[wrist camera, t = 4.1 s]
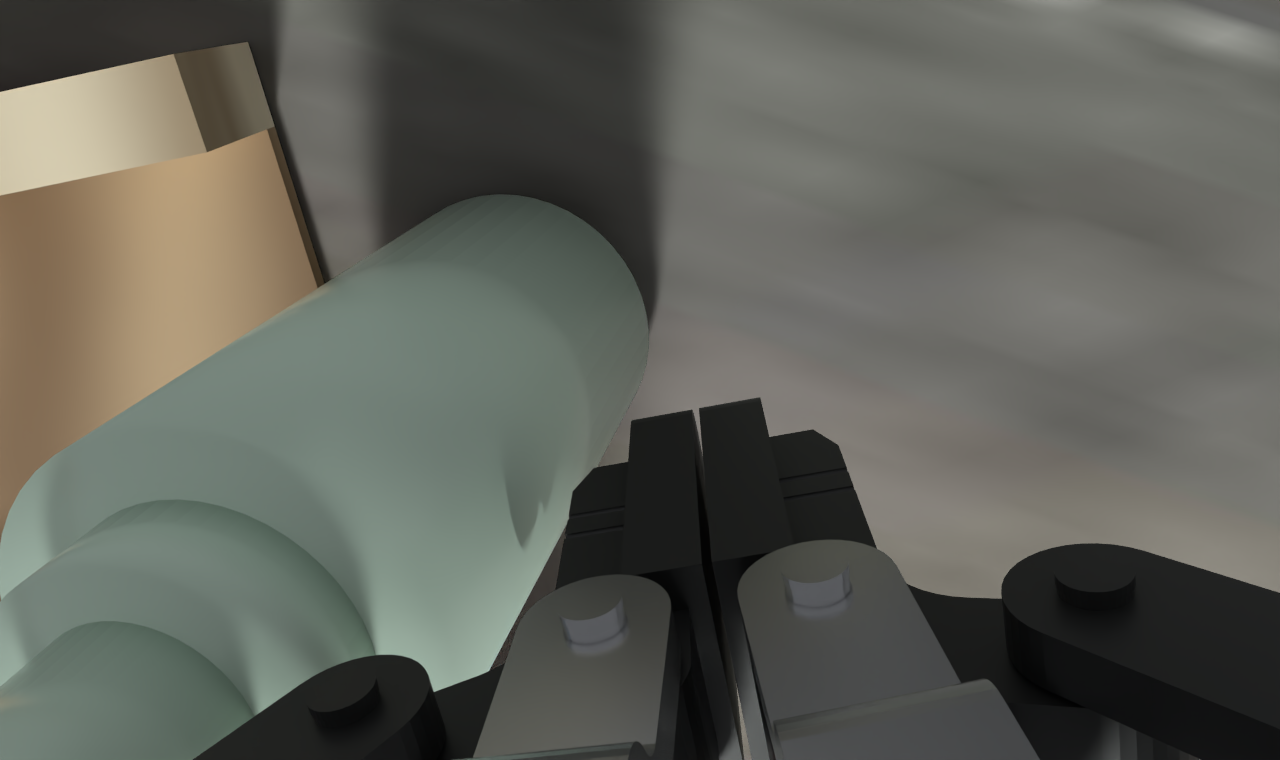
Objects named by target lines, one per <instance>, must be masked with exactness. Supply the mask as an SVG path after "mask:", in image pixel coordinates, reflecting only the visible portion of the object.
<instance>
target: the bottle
mask: <svg viewBox="0 0 1280 760" xmlns="http://www.w3.org/2000/svg"><path fill="white" fill-rule="evenodd" d="M648 349H649V329H648V322H647V315H646V310H645V306H644V303H643V299H642V296H641V293H640V291H639V289H638V286H637V284H636V282H635V279H634V277H633V275H632V274H631V272H630V270H629V269H628V267H627V265H626V263H625V262H624V260H623V259H622V258H621V257H620V255H619V254H618V253H617V251H616V250H615V249H614V247H613V246H612V245H611V244H610V243H609V242H608V241H607V240H606V239H605V238H604V237H603V236H602V235H601V234H600V233H599V232H598V231H596V230H595V229H594V228H593V227H591V226H590V225H589V224H588V223H586V222H585V221H583V220H582V219H580V218H579V217H577V216H575V215H574V214H572V213H570V212H569V211H567V210H564V209H562V208H560V207H558V206H556V205H553V204H551V203H548V202H545V201H541V200H538V199H535V198H530V197H524V196H519V195H503V194H495V195H485V196H478V197H474V198H470V199H466V200H462V201H460V202H457V203H455V204H453V205H450V206H448V207H446V208H444V209H442V210H441V211H439V212H437V213H436V214H434V215H432V216H431V217H429V218H428V219H426V220H424V221H423V222H421V223H420V224H418V225H417V226H415V227H413V228H412V229H410V230H409V231H407V232H406V233H404V234H402V235H401V236H399V237H398V238H396V239H395V240H393V241H391V242H390V243H388V244H387V245H385V246H383V247H382V248H380V249H379V250H377V251H376V252H374V253H372V254H371V255H369V256H368V257H366V258H365V259H363V260H361V261H360V262H358V263H357V264H355V265H354V266H352V267H350V268H349V269H347V270H346V271H344V272H342V273H341V274H339V275H338V276H336V277H335V278H333V279H331V280H330V281H328V282H327V283H325V284H324V285H322V286H320V287H319V288H317V289H316V290H314V291H312V292H311V293H309V294H308V295H306V296H305V297H303V298H301V299H300V300H298V301H297V302H295V303H294V304H292V305H290V306H289V307H287V308H286V309H284V310H283V311H281V312H279V313H278V314H276V315H275V316H273V317H271V318H270V319H268V320H267V321H265V322H264V323H262V324H260V325H259V326H257V327H256V328H254V329H253V330H251V331H249V332H248V333H246V334H245V335H243V336H241V337H240V338H238V339H237V340H235V341H234V342H232V343H230V344H229V345H227V346H226V347H224V348H223V349H221V350H219V351H218V352H216V353H215V354H213V355H212V356H210V357H208V358H207V359H205V360H204V361H202V362H200V363H199V364H197V365H196V366H194V367H193V368H191V369H189V370H188V371H186V372H185V373H183V374H182V375H180V376H178V377H177V378H175V379H174V380H172V381H171V382H169V383H167V384H166V385H164V386H163V387H161V388H159V389H158V390H156V391H155V392H153V393H152V394H150V395H148V396H147V397H145V398H144V399H142V400H141V401H139V402H137V403H136V404H134V405H133V406H131V407H129V408H128V409H126V410H125V411H123V412H122V413H120V414H118V415H117V416H115V417H114V418H112V419H111V420H109V421H107V422H106V423H104V424H103V425H101V426H100V427H98V428H96V429H95V430H93V431H92V432H90V433H88V434H87V435H85V436H84V437H82V438H81V439H79V440H77V441H76V442H74V443H73V444H71V445H70V446H68V447H66V448H65V449H63V450H62V451H60V452H58V453H57V454H55V455H54V456H53V457H51V458H50V459H49V460H48V461H47V462H46V463H45V464H43V465H42V466H41V467H40V468H39V469H38V470H36V471H35V472H34V474H33V475H32V476H31V477H30V479H29V480H28V481H27V482H26V484H25V485H24V486H23V488H22V489H21V490H20V492H19V494H18V495H17V497H16V499H15V501H14V503H13V505H12V507H11V509H10V511H9V513H8V516H7V519H6V523H5V526H4V529H3V532H2V536H1V543H0V597H1V601H0V760H193V759H194V758H196V757H197V756H198V755H200V754H201V753H203V752H204V751H206V750H207V749H208V748H210V747H211V746H213V745H214V744H216V743H217V742H218V741H220V740H221V739H223V738H224V737H226V736H227V735H229V734H230V733H231V732H233V731H234V730H236V729H237V728H239V727H240V726H241V725H243V724H244V723H246V722H247V721H249V720H250V719H251V718H253V717H254V716H256V715H257V714H259V713H260V712H261V711H263V710H264V709H266V708H267V707H269V706H270V705H271V704H273V703H274V702H276V701H277V700H279V699H280V698H281V697H283V696H284V695H286V694H287V693H289V692H290V691H292V690H293V689H294V688H296V687H297V686H299V685H300V684H302V683H303V682H305V681H306V680H308V679H310V678H311V677H313V676H315V675H316V674H318V673H320V672H322V671H324V670H326V669H328V668H331V667H333V666H336V665H338V664H341V663H344V662H347V661H350V660H353V659H357V658H362V657H366V656H374V655H399V656H404V657H408V658H411V659H413V660H415V661H417V662H419V663H420V664H421V665H422V666H423V667H424V668H425V670H426V671H427V673H428V675H429V678H430V682H431V685H432V688H433V691H434V692H435V691H438V690H441V689H443V688H446V687H449V686H452V685H454V684H457V683H460V682H462V681H465V680H468V679H471V678H473V677H476V676H479V675H481V674H484V673H486V672H488V671H489V670H490V668H491V666H492V664H493V662H494V660H495V659H496V657H497V655H498V653H499V651H500V649H501V647H502V645H503V643H504V642H505V640H506V638H507V636H508V634H509V632H510V630H511V628H512V627H513V625H514V623H515V621H516V619H517V617H518V615H519V613H520V611H521V610H522V608H523V606H524V604H525V602H526V600H527V598H528V596H529V594H530V593H531V591H532V589H533V587H534V585H535V583H536V581H537V579H538V578H539V576H540V574H541V572H542V570H543V568H544V566H545V564H546V562H547V561H548V559H549V557H550V555H551V553H552V551H553V549H554V547H555V545H556V544H557V542H558V540H559V538H560V536H561V534H562V532H563V530H564V529H565V527H566V525H567V521H568V520H569V509H570V504H571V498H572V492H573V490H574V489H575V488H576V487H577V486H578V485H579V484H580V483H581V482H582V480H583V479H584V478H585V477H586V476H587V475H588V474H589V473H590V472H591V470H592V469H593V468H596V467H597V466H598V464H599V463H600V461H601V459H602V457H603V455H604V453H605V451H606V449H607V447H608V446H609V444H610V442H611V440H612V438H613V436H614V434H615V432H616V430H617V429H618V427H619V425H620V423H621V421H622V419H623V417H624V415H625V414H626V412H627V410H628V408H629V406H630V404H631V402H632V400H633V398H634V397H635V395H636V392H637V390H638V388H639V386H640V383H641V381H642V379H643V375H644V371H645V368H646V364H647V357H648Z"/></svg>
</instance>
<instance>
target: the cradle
mask: <svg viewBox="0 0 1280 760" xmlns="http://www.w3.org/2000/svg"><path fill="white" fill-rule="evenodd" d="M322 285H324V281H323V277H322V274H321V271H320V268H319V265H318V262H317V258H316V255H315V252H314V249H313V246H312V243H311V239H310V236H309V233H308V230H307V227H306V224H305V221H304V217H303V214H302V211H301V208H300V205H299V202H298V198H297V195H296V192H295V189H294V186H293V183H292V179H291V176H290V173H289V170H288V167H287V164H286V160H285V157H284V154H283V151H282V148H281V145H280V142H279V138H278V135H277V132H276V129H275V126H274V123H273V119H272V116H271V113H270V110H269V107H268V104H267V100H266V97H265V94H264V91H263V88H262V85H261V82H260V78H259V75H258V72H257V69H256V66H255V63H254V59H253V56H252V53H251V50H250V47H249V44H248V42H244V43H237V44H231V45H225V46H219V47H213V48H207V49H201V50H195V51H189V52H183V53H176V54H171V55H167V56H162V57H157V58H153V59H148V60H144V61H139V62H135V63H130V64H126V65H121V66H116V67H112V68H107V69H103V70H98V71H94V72H89V73H84V74H80V75H75V76H71V77H66V78H62V79H57V80H53V81H48V82H43V83H39V84H34V85H30V86H25V87H21V88H16V89H11V90H7V91H2V92H0V543H1V536H2V532H3V529H4V526H5V523H6V519H7V516H8V513H9V511H10V509H11V507H12V505H13V503H14V501H15V499H16V497H17V495H18V494H19V492H20V490H21V489H22V488H23V486H24V485H25V484H26V482H27V481H28V480H29V479H30V477H31V476H32V475H33V474H34V472H35V471H36V470H38V469H39V468H40V467H41V466H42V465H43V464H45V463H46V462H47V461H48V460H49V459H50V458H51V457H53V456H54V455H55V454H57V453H58V452H60V451H62V450H63V449H65V448H66V447H68V446H70V445H71V444H73V443H74V442H76V441H77V440H79V439H81V438H82V437H84V436H85V435H87V434H88V433H90V432H92V431H93V430H95V429H96V428H98V427H100V426H101V425H103V424H104V423H106V422H107V421H109V420H111V419H112V418H114V417H115V416H117V415H118V414H120V413H122V412H123V411H125V410H126V409H128V408H129V407H131V406H133V405H134V404H136V403H137V402H139V401H141V400H142V399H144V398H145V397H147V396H148V395H150V394H152V393H153V392H155V391H156V390H158V389H159V388H161V387H163V386H164V385H166V384H167V383H169V382H171V381H172V380H174V379H175V378H177V377H178V376H180V375H182V374H183V373H185V372H186V371H188V370H189V369H191V368H193V367H194V366H196V365H197V364H199V363H200V362H202V361H204V360H205V359H207V358H208V357H210V356H212V355H213V354H215V353H216V352H218V351H219V350H221V349H223V348H224V347H226V346H227V345H229V344H230V343H232V342H234V341H235V340H237V339H238V338H240V337H241V336H243V335H245V334H246V333H248V332H249V331H251V330H253V329H254V328H256V327H257V326H259V325H260V324H262V323H264V322H265V321H267V320H268V319H270V318H271V317H273V316H275V315H276V314H278V313H279V312H281V311H283V310H284V309H286V308H287V307H289V306H290V305H292V304H294V303H295V302H297V301H298V300H300V299H301V298H303V297H305V296H306V295H308V294H309V293H311V292H312V291H314V290H316V289H317V288H319V287H320V286H322ZM0 601H1V597H0Z"/></svg>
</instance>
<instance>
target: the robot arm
mask: <svg viewBox="0 0 1280 760" xmlns="http://www.w3.org/2000/svg"><path fill="white" fill-rule="evenodd" d="M699 414H700V426H701V438H702V450H703V456H702V451H701V446H700V441H699V436H698V431H697V426H696V421H695V417H694V413H693V410H687V411H682V412H676V413H671V414H665V415H659V416H654V417H648V418H642V419H637V420H632V421H631V431H630V445H629V459H628V462H625V463H619V464H614V465H608V466H602V467H596V468H593V469H592V470H591V472H590V473H589V474H588V475H587V476H586V477H585V478H584V479H583V480H582V482H581V483H580V484H579V485H578V486H577V487H576V488H575V489H574V490H573V492H572V498H571V504H570V509H569V520H568V521H567V527H566V532H565V536H566V539H565V540H564V544H563V549H562V555H561V561H560V567H559V572H558V578H557V584H556V590H555V591H553V592H551V593H550V594H548V595H546V596H545V597H543V598H542V599H540V600H539V601H538V602H536V603H535V604H534V605H533V606H532V607H531V608H530V609H529V610H528V611H527V612H526V613H525V615H524V616H523V617H522V619H521V621H520V623H519V625H518V627H517V630H516V633H515V636H514V639H513V642H512V644H511V647H510V650H509V653H508V656H507V659H506V662H505V664H503V665H501V666H499V667H497V668H495V669H493V670H491V671H488V672H486V673H484V674H481V675H479V676H476V677H473V678H471V679H468V680H465V681H462V682H460V683H457V684H454V685H452V686H449V687H446V688H443V689H441V690H438V691H435V692H434V691H433V688H432V685H431V682H430V678H429V675H428V673H427V671H426V670H425V668H424V667H423V666H422V665H421V664H420V663H419V662H417V661H415V660H413V659H411V658H408V657H404V656H399V655H374V656H366V657H362V658H357V659H353V660H350V661H347V662H344V663H341V664H338V665H336V666H333V667H331V668H328V669H326V670H324V671H322V672H320V673H318V674H316V675H315V676H313V677H311V678H310V679H308V680H306V681H305V682H303V683H302V684H300V685H299V686H297V687H296V688H294V689H293V690H292V691H290V692H289V693H287V694H286V695H284V696H283V697H281V698H280V699H279V700H277V701H276V702H274V703H273V704H271V705H270V706H269V707H267V708H266V709H264V710H263V711H261V712H260V713H259V714H257V715H256V716H254V717H253V718H251V719H250V720H249V721H247V722H246V723H244V724H243V725H241V726H240V727H239V728H237V729H236V730H234V731H233V732H231V733H230V734H229V735H227V736H226V737H224V738H223V739H221V740H220V741H218V742H217V743H216V744H214V745H213V746H211V747H210V748H208V749H207V750H206V751H204V752H203V753H201V754H200V755H198V756H197V757H196V758H194V759H193V760H744V754H743V745H742V735H741V725H740V716H739V706H738V696H737V688H738V693H739V698H740V703H741V708H742V713H743V718H744V723H745V728H746V732H747V737H748V742H749V747H750V752H751V757H752V760H1199V759H1201V760H1280V593H1278V592H1275V591H1272V590H1268V589H1265V588H1262V587H1259V586H1256V585H1252V584H1249V583H1246V582H1243V581H1239V580H1236V579H1233V578H1230V577H1226V576H1223V575H1220V574H1217V573H1213V572H1210V571H1207V570H1204V569H1201V568H1197V567H1194V566H1191V565H1188V564H1184V563H1181V562H1178V561H1175V560H1171V559H1168V558H1165V557H1162V556H1159V555H1155V554H1152V553H1149V552H1146V551H1142V550H1138V549H1134V548H1130V547H1125V546H1119V545H1111V544H1074V545H1065V546H1060V547H1055V548H1051V549H1047V550H1044V551H1040V552H1038V553H1036V554H1033V555H1031V556H1029V557H1027V558H1025V559H1023V560H1022V561H1020V562H1019V563H1017V564H1016V565H1015V566H1014V567H1013V568H1012V569H1010V571H1009V572H1008V573H1007V575H1006V576H1005V578H1004V581H1003V583H1002V599H990V598H965V597H952V596H946V595H940V594H935V593H931V592H927V591H923V590H920V589H918V588H915V587H913V586H910V585H908V584H906V582H905V580H904V578H903V577H902V575H901V573H900V571H899V569H898V567H897V566H896V564H895V563H894V562H893V560H892V559H891V558H890V557H889V556H887V555H886V554H885V553H884V552H882V551H880V550H878V549H877V548H876V545H875V542H874V540H873V537H872V534H871V532H870V529H869V526H868V524H867V521H866V518H865V516H864V513H863V510H862V508H861V505H860V502H859V499H858V497H857V494H856V491H855V490H854V487H853V483H852V481H851V478H850V475H849V473H848V472H847V467H846V465H845V462H844V459H843V457H842V454H841V451H840V449H839V446H838V445H837V444H835V443H834V442H832V441H831V440H829V439H827V438H826V437H824V436H823V435H821V434H819V433H818V432H816V431H814V430H807V431H802V432H796V433H790V434H784V435H779V436H773V437H769V434H768V430H767V425H766V421H765V417H764V412H763V408H762V404H761V399H760V398H754V399H748V400H743V401H737V402H731V403H726V404H720V405H715V406H709V407H703V408H699ZM736 683H737V687H736Z"/></svg>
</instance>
